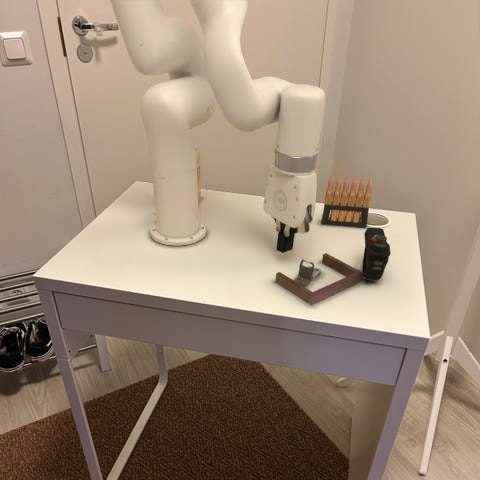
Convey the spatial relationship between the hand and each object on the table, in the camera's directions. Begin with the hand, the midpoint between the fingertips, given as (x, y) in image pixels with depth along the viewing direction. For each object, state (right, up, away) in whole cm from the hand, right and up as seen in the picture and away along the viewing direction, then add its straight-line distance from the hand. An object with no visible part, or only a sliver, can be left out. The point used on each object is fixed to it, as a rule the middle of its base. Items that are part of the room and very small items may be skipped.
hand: (284, 249), depth 96 cm
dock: (+6, -7, -4) cm, 10 cm away
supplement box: (-22, +16, +26) cm, 38 cm away
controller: (+17, -5, -2) cm, 18 cm away
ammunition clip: (+16, +9, +17) cm, 25 cm away
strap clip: (+4, -7, -4) cm, 8 cm away
